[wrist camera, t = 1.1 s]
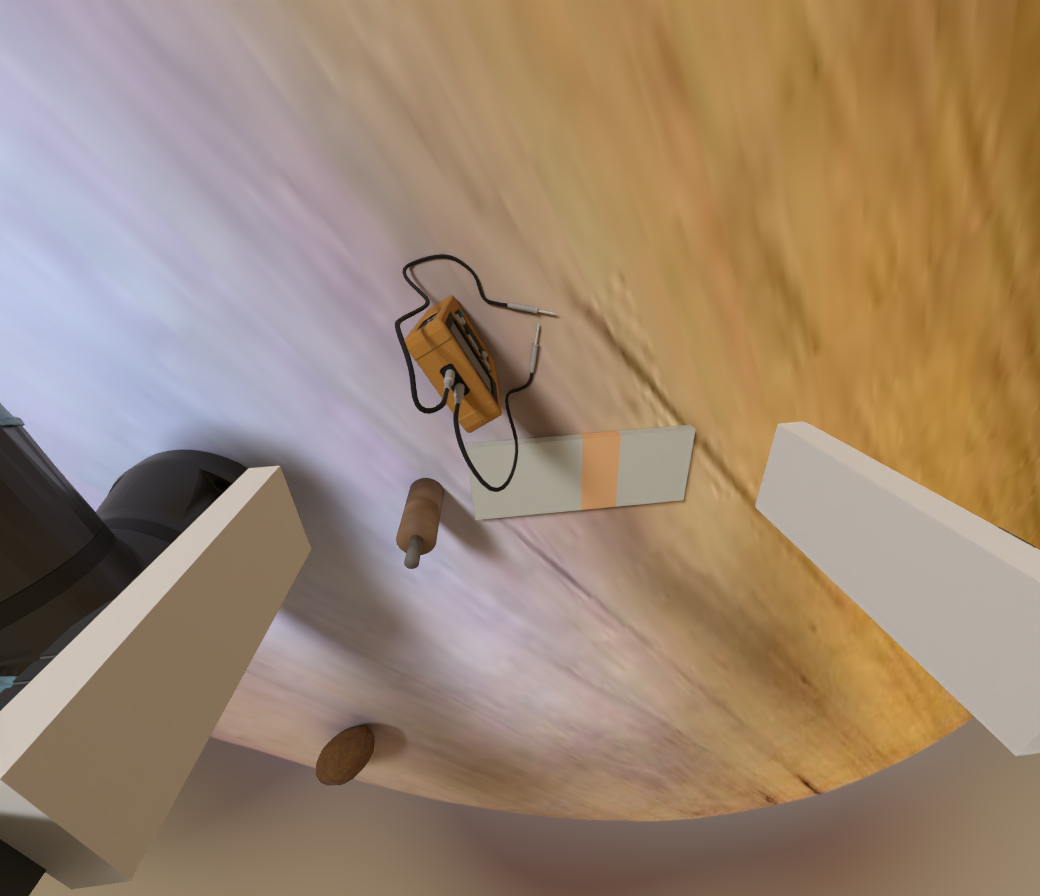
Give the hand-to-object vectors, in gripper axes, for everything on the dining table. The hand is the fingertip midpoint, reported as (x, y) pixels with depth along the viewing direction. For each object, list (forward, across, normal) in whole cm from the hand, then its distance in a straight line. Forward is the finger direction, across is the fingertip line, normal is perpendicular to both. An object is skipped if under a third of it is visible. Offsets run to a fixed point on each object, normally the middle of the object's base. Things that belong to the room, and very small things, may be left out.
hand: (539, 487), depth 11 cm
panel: (+28, +8, -17) cm, 34 cm away
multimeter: (+29, 0, 0) cm, 29 cm away
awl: (+28, -9, -18) cm, 35 cm away
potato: (+29, -28, -61) cm, 73 cm away
